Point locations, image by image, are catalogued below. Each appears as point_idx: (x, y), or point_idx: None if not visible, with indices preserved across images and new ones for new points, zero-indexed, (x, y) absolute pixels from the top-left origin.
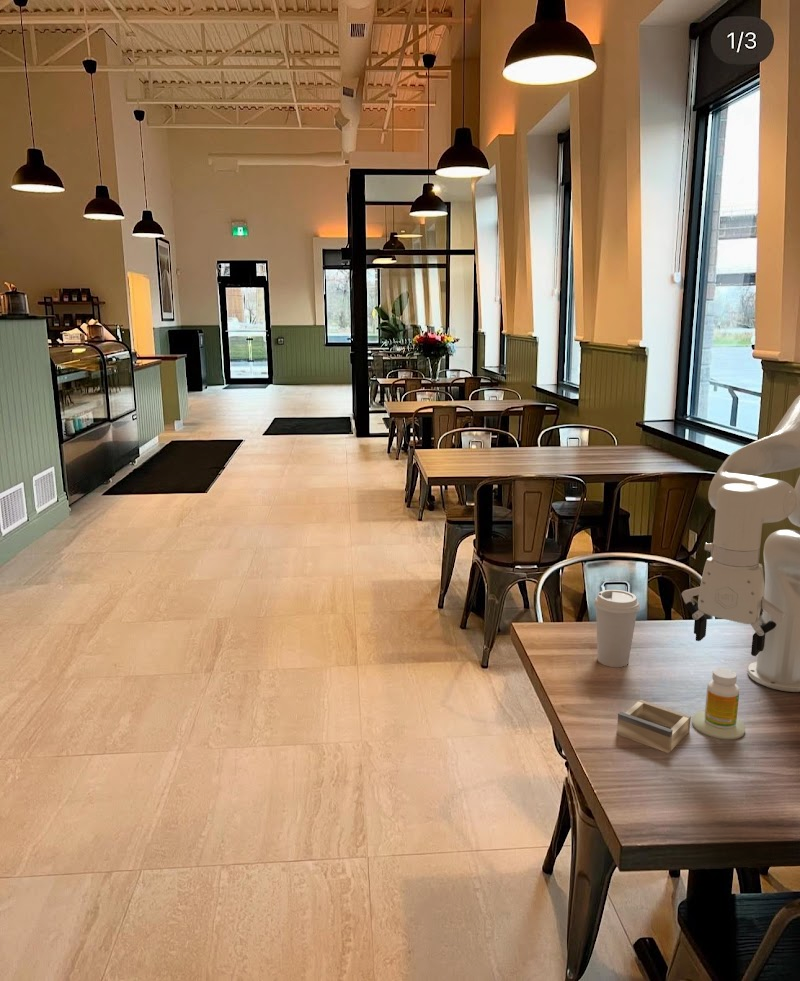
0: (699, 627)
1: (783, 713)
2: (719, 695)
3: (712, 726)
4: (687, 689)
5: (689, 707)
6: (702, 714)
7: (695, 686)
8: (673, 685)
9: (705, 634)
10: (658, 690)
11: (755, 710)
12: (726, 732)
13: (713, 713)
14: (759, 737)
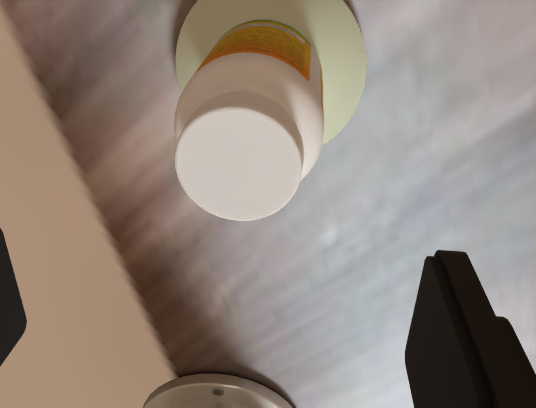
0: (474, 345)
1: (144, 268)
2: (242, 52)
3: None
4: None
5: (397, 143)
6: (337, 95)
7: (412, 288)
8: (482, 258)
9: (407, 364)
10: (528, 199)
11: (211, 243)
12: (219, 10)
13: (272, 30)
14: (134, 81)
